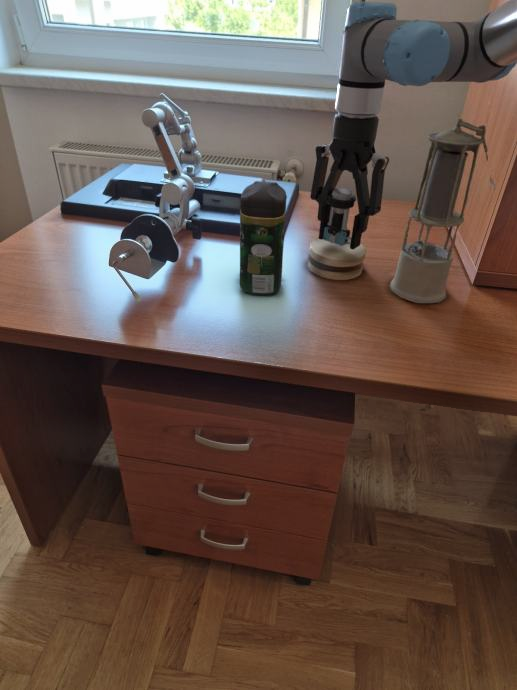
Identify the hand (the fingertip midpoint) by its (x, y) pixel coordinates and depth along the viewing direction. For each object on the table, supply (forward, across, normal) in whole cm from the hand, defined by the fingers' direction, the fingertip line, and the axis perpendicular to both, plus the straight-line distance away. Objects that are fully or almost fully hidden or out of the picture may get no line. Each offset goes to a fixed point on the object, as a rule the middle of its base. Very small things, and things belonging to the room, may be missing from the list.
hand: (339, 241), depth 94 cm
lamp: (+6, -18, -3) cm, 19 cm away
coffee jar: (+6, +7, +16) cm, 18 cm away
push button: (0, 0, 0) cm, 0 cm away
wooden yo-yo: (+6, 0, 0) cm, 6 cm away
